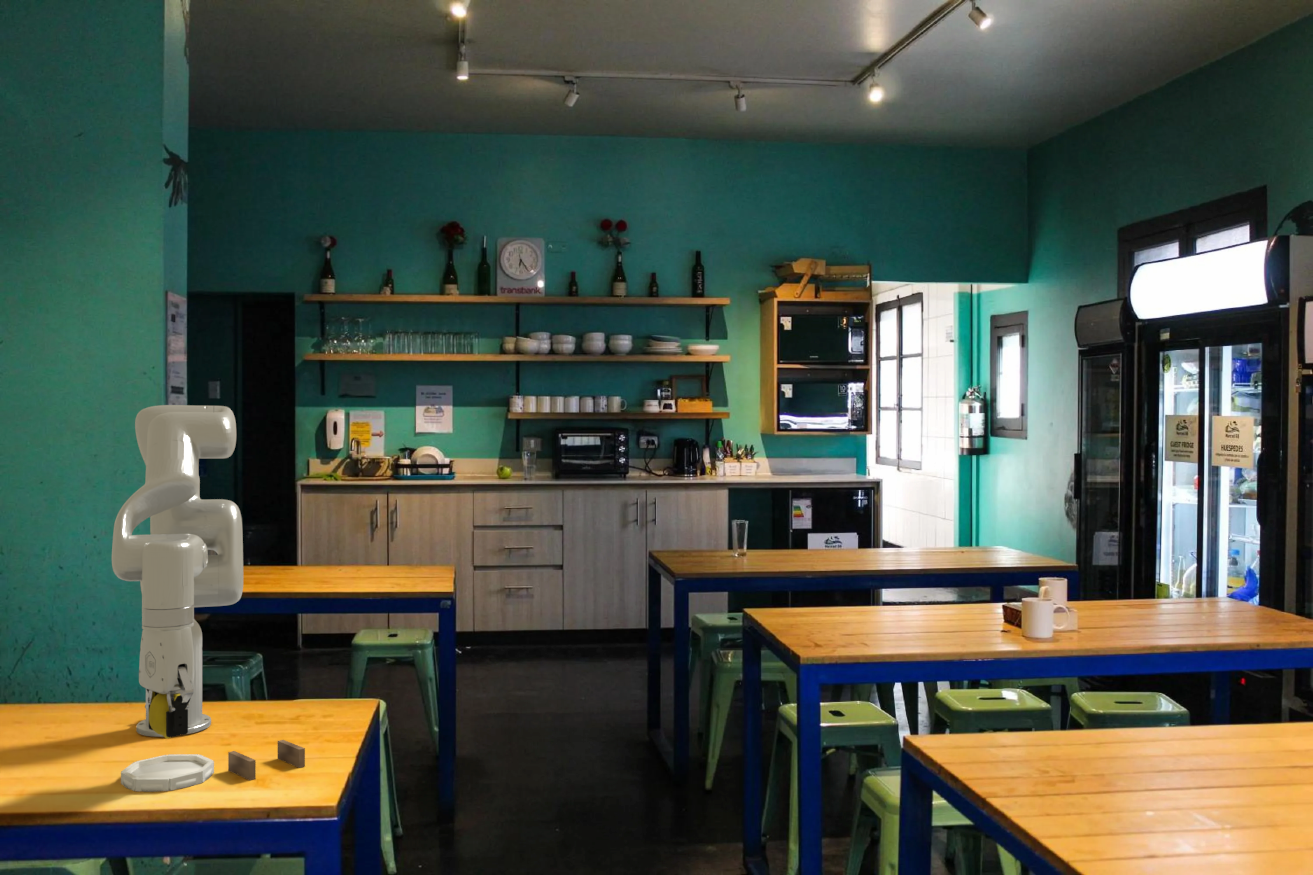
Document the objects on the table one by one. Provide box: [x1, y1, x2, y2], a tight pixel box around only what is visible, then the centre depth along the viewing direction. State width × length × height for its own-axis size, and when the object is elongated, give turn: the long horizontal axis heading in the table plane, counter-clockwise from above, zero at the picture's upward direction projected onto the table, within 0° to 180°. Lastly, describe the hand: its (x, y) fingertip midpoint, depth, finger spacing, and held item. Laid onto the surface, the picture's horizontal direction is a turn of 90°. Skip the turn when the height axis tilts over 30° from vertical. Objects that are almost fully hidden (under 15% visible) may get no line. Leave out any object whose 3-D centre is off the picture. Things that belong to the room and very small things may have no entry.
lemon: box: [149, 690, 180, 740], centre depth 174 cm, size 6×6×8 cm
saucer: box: [120, 753, 215, 793], centre depth 174 cm, size 13×13×2 cm
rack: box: [227, 739, 306, 781], centre depth 179 cm, size 7×10×3 cm
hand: (168, 730), depth 174 cm, fingers closed on lemon, 5 cm apart
